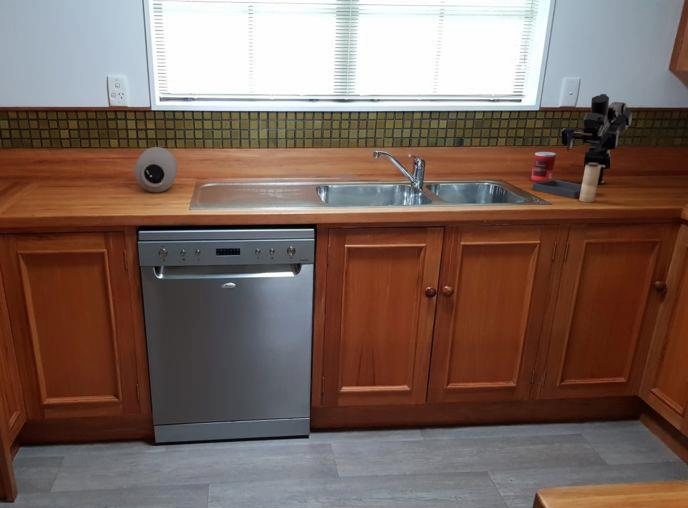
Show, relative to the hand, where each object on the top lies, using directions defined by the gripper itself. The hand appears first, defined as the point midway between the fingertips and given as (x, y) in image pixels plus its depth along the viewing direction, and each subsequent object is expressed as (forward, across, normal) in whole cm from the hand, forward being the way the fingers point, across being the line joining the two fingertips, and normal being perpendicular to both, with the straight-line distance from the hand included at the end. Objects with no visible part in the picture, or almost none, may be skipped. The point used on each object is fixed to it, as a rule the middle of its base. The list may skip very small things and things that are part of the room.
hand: (580, 150), depth 217 cm
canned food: (-8, -17, +21) cm, 29 cm away
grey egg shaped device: (+95, -116, -27) cm, 152 cm away
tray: (+6, -4, +15) cm, 16 cm away
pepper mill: (+14, +7, +11) cm, 19 cm away
